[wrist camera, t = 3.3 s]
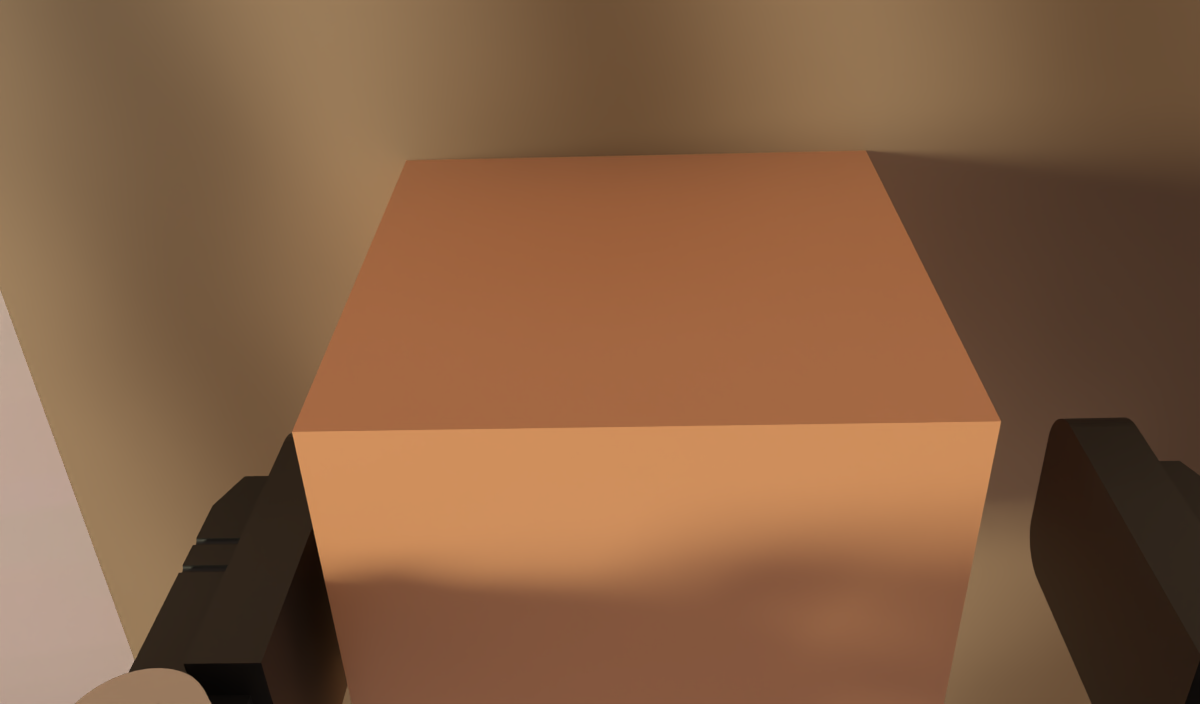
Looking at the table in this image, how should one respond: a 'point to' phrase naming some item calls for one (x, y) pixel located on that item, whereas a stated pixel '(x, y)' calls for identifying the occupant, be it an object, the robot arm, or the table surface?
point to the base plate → (577, 129)
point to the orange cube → (645, 439)
